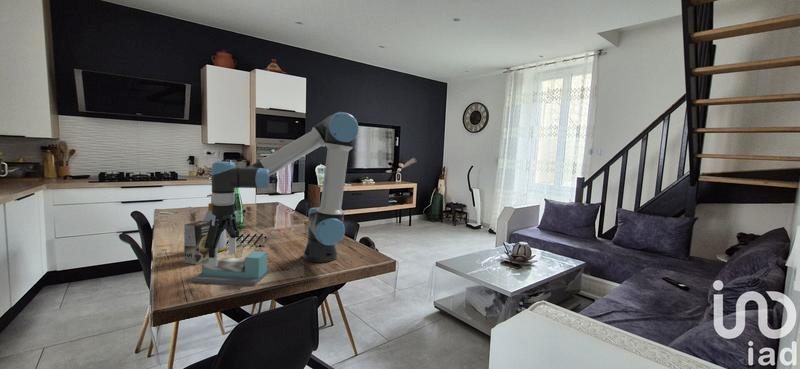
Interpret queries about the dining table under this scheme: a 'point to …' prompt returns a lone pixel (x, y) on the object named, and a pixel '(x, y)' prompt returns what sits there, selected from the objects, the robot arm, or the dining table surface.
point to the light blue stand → (251, 276)
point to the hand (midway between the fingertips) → (223, 259)
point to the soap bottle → (222, 239)
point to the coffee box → (195, 242)
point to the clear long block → (225, 265)
